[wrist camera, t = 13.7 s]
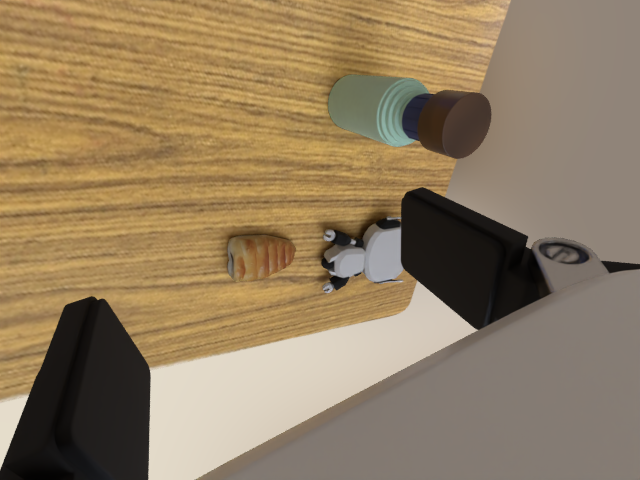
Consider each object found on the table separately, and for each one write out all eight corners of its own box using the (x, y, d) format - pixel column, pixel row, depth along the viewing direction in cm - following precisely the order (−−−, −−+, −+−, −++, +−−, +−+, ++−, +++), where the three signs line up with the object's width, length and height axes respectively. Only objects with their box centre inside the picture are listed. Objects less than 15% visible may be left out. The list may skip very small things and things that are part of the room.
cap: (394, 117, 29) (413, 122, 26) (424, 83, 28) (447, 85, 26) (413, 147, 31) (433, 154, 29) (442, 116, 31) (464, 120, 29)
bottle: (317, 103, 39) (393, 122, 26) (353, 62, 38) (447, 61, 26) (347, 139, 42) (425, 171, 30) (380, 102, 42) (473, 119, 30)
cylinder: (407, 122, 26) (432, 128, 24) (449, 75, 26) (479, 77, 23) (432, 162, 29) (456, 170, 27) (470, 120, 29) (498, 125, 26)
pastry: (292, 226, 45) (302, 238, 42) (291, 266, 48) (300, 280, 45) (224, 234, 41) (229, 248, 38) (227, 277, 44) (232, 293, 41)
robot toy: (315, 286, 53) (393, 269, 57) (325, 302, 49) (408, 283, 54) (315, 219, 47) (402, 206, 51) (326, 233, 43) (419, 217, 48)
